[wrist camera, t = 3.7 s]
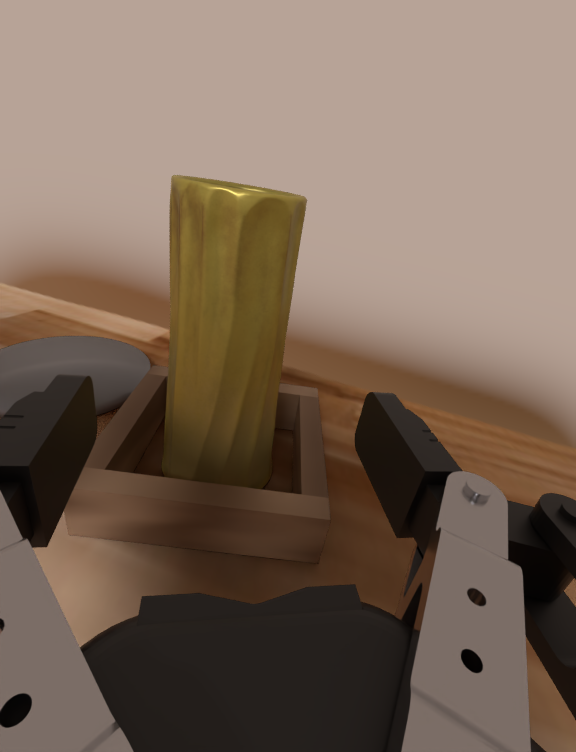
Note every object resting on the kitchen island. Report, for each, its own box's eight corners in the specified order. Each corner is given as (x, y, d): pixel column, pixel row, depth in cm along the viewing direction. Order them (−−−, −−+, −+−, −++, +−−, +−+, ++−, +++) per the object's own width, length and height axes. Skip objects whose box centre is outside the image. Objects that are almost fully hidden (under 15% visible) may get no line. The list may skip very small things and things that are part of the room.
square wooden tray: (68, 534, 16) (59, 486, 15) (153, 401, 26) (153, 364, 24) (318, 563, 17) (331, 520, 15) (310, 422, 26) (317, 388, 25)
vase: (137, 463, 20) (124, 166, 14) (220, 420, 25) (239, 182, 18) (215, 529, 17) (245, 192, 11) (292, 467, 22) (347, 203, 15)
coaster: (-80, 408, 22) (-85, 396, 21) (37, 336, 31) (35, 328, 31) (113, 433, 22) (112, 422, 22) (169, 355, 32) (169, 347, 31)
